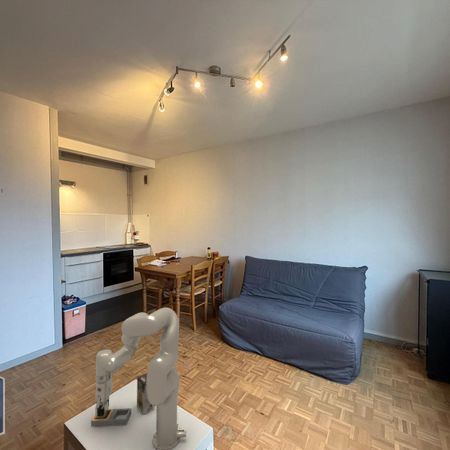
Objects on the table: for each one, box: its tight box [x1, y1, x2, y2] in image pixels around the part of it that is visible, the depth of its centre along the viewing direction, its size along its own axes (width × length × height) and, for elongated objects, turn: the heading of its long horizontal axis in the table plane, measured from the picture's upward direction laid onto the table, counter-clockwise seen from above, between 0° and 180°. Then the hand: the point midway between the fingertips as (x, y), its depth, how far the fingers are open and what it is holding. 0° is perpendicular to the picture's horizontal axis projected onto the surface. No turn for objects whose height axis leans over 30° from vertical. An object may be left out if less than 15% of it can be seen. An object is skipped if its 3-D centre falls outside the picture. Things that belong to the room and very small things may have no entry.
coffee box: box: [136, 372, 155, 416], centre depth 134 cm, size 9×6×16 cm
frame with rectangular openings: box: [90, 407, 132, 427], centre depth 125 cm, size 17×8×3 cm, turn 94°
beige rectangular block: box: [94, 401, 109, 419], centre depth 125 cm, size 4×4×8 cm
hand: (103, 411), depth 125 cm, fingers open, 5 cm apart
